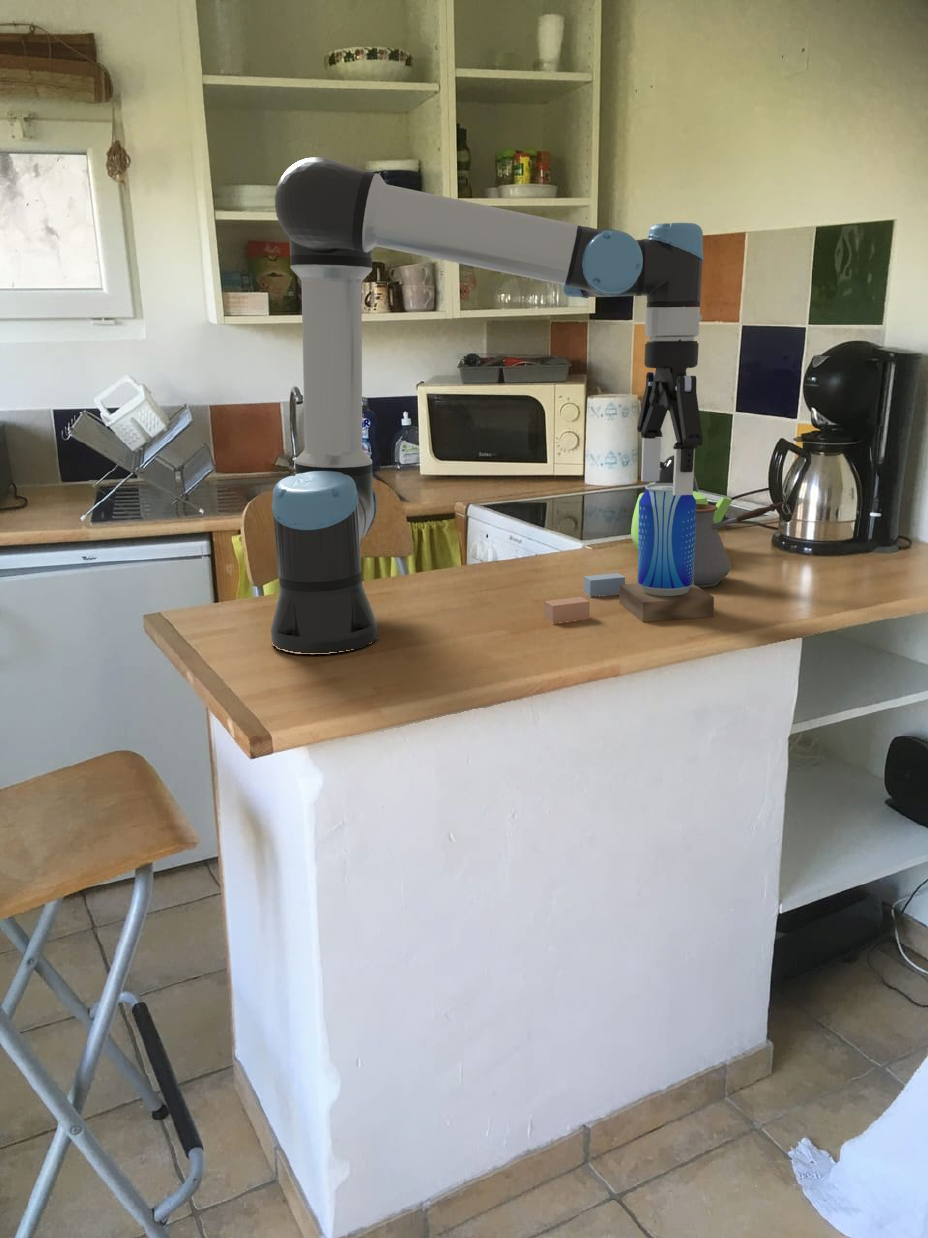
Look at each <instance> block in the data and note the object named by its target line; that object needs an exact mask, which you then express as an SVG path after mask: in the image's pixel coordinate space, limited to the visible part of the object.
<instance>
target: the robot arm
mask: <svg viewBox="0 0 928 1238" xmlns="http://www.w3.org/2000/svg"><path fill="white" fill-rule="evenodd" d="M274 195H275V196H274V208H275V214H276V218H277V220H278V224H279V225H280V227H281V228H282V230H283V232H284V233H285V235H287V236H288V238H289V258H290V259H289V261H290V262H289V263H290V269H291V271H293V272H294V273H295V275H296V276H297V277H298V278H299V280H300V282H301V317H302V319H301V320H302V321H301V323H302V328H301V329H302V364H303V365H302V366H303V367H302V371H303V413H304V418H303V419H304V422H303V424H304V427H303V428H304V449H303V450H302V452H300V454H299V455H298V456H297V457H296V458H295V459H294V475H290V476H289V475H288V476H286V477H284V478H282V479H279V481H278V482H277V483H276V484H275V485H274V488H273V489H272V501H271V512H272V514H273V523H274V524H273V526H274V535H275V536H274V537H275V547H276V557H277V568H278V569H277V571H278V580H279V592H278V593H279V594H278V598H277V602H276V606H275V611H274V614H273V619H272V623H271V627H270V628H271V629H270V634H271V635H270V637H271V643H272V642H273V644H274V645H275V646H277V647H278V648H280V649H285V650H288V651H293V652H301V653H329V652H339V651H346V650H351V649H357V650H359V649H358V648H360V649H362V648H361V647H363V646H365V647H367V646H366V645H368V644H369V643H371V642H373V641H374V640H375V639H376V638H377V639H378V637H377V634H379V633H378V622H377V618H376V616H375V614H374V611H373V609H372V606H371V602H370V601H369V599H368V596H367V594H366V592H365V589H364V585H363V576H362V558H361V540H362V539H363V537H365V535H367V534H368V533H369V531H370V530H371V528H372V526H373V524H374V523H375V518H376V516H377V509H378V503H377V502H378V501H377V497H376V492H375V490H374V486H373V459H372V458H370V456H369V455H368V454H367V453H366V451H364V449H363V339H362V338H363V335H362V334H363V328H362V327H363V324H362V323H363V322H362V321H363V320H362V319H363V318H362V317H363V315H362V314H363V308H362V307H363V305H362V304H363V303H362V300H363V297H362V296H363V295H362V294H363V292H362V289H363V287H362V283H363V281H364V280H365V279H366V278H367V276H369V274H370V273H372V271H373V249H375V248H376V247H379V248H384V249H389V250H391V251H392V250H393V251H397V252H402V253H407V254H413V255H418V256H420V257H421V256H422V257H427V258H432V259H436V260H441V261H445V262H446V261H447V262H451V263H456V264H460V265H465V266H470V267H475V268H479V269H483V270H485V269H486V270H490V271H493V272H494V271H495V272H499V273H503V274H508V275H514V276H519V277H525V278H528V279H532V280H538V281H543V282H548V283H553V284H556V285H561V286H562V291H563V293H564V295H565V296H567V297H571V298H582V299H589V298H606V297H608V298H611V297H612V298H614V297H615V298H616V297H633V296H634V297H641V296H646V308H645V322H644V323H645V324H644V335H645V337H646V338H649V339H648V341H646V343H645V344H644V366H645V367H646V368H648V369H655V371H653V372H651V371H650V372H649V371H648V372H647V373H646V375H645V388H644V391H643V392H644V393H643V398H642V402H641V403H642V404H641V407H640V412H639V417H638V421H637V426H636V430H637V433H640V435H641V438H642V440H641V448H642V449H641V475H640V478H641V480H640V481H641V482H656V481H659V478H660V469H661V468H660V462H661V449H662V447H661V446H662V437H663V436H664V435H663V432H662V428H663V424H664V421H665V418H666V415H667V412H669V416H670V418H671V419H670V420H671V423H672V427H673V428H672V429H673V431H674V435H675V441H676V442H675V443H674V445H673V446H672V448H673V450H674V454H673V455H674V476H673V495H693V479H694V476H695V459H696V458H695V455H696V449H697V448H698V446H703V443H704V440H703V432H702V431H703V430H702V424H701V415H700V409H699V402H698V394H697V377H696V375H687V369H693V368H696V367H697V366H698V361H699V345H700V344H699V343H698V341H697V340H695V337H698V335H699V334H700V322H701V321H702V320H703V315H702V314H701V313H700V312H701V297H702V283H703V281H702V280H703V267H704V266H703V264H704V259H705V258H704V241H703V239H704V237H703V236H704V232H703V229H702V227H701V226H700V225H699V224H698V223H697V224H696V223H692V222H670V223H669V222H668V223H666V222H665V223H656V224H653V225H651V226H650V228H649V231H648V234H647V238H643V239H637V240H636V238H634V237H633V236H632V235H631V234H629V233H628V232H624V231H622V230H620V229H613V228H612V229H609V230H608V229H607V230H605V229H604V230H603V229H599V228H594V227H590V226H583V225H578V224H575V223H571V222H567V221H562V220H557V219H553V218H549V217H544V216H538V215H533V214H529V213H523V212H519V211H514V210H509V209H505V208H501V207H495V206H490V205H487V204H481V203H477V202H472V201H467V200H462V199H457V198H453V197H448V196H442V195H439V194H433V193H429V192H424V191H419V190H416V189H410V188H406V187H400V186H395V185H391V184H388V183H386V182H385V180H384V178H382V176H381V174H379V173H376V172H372V171H368V170H362V169H359V168H355V167H353V166H349V165H345V164H343V163H341V162H338V161H336V160H334V159H330V158H328V157H321V156H320V157H319V156H313V157H307V158H304V159H301V160H297V162H295V163H293V164H291V166H289V167H288V168H287V169H286V170H285V171H284V173H283V175H282V176H281V177H280V179H279V181H278V184H277V186H276V189H275V193H274ZM377 639H376V640H377ZM376 640H375V641H376ZM375 641H374V642H375ZM374 642H373V643H374ZM371 644H372V643H371ZM368 646H369V645H368ZM363 648H364V647H363Z"/></svg>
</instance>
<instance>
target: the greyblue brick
mask: <svg viewBox="0 0 928 1238" xmlns="http://www.w3.org/2000/svg"><path fill="white" fill-rule="evenodd" d="M622 584H626V577H625V576H624V575H622V574H620V573H618V572H617V573H616V572H615V573H608V574H607V573H606V574H605V573H604V574H595V575H594V574H593V575H585V576H583V593H584V592H585V593H587V594H588V595H590V596H599V595H600V596H599V597H603V596H602V595H609V596H617V595H616V594H620V585H622ZM585 593H584V594H585ZM588 595H587V596H588Z"/></svg>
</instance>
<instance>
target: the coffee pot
mask: <svg viewBox="0 0 928 1238" xmlns="http://www.w3.org/2000/svg"><path fill="white" fill-rule="evenodd" d="M785 506H787V508H788V512H786V511H785V509H784V507H785ZM717 509H718V507H717V506H715V505H713V504H709V503H708V504H696V529H695V561H694V585H696V586H697V587H699V588H708V587H714V586H717V585H719V584H720V582H721V581H722V580H724V579H725V578H726V577H727V576H728V575H729V573H730V571H731V569H732V564H731V561H730V559H729V556H728V554H727V552H726V551H727V550H726V549H725V546H724V544H723V542H722V541H723V540H722V538H721V536H720V534H719V531H718V529H720V528H723V527H726V526H728V525H731V524H734V523H737V522H742V521H746V520H749V519H754V518H757V517H760V516H763V515H765V514H766V513H769V512H775V511H776V509H781V510H782V512H783V513H784V515H788V516H789V514H791V513H790V512H791V509H790V505H789V504H788V503H787V502H786V501H780V502H778V503H775V504H773V503H770V505H769V506H763V507H758V508H755V509H752V510H750V511H747V512H745V513H742V514H740V515H737V516H736V517H732V518H729V519H725V520H722V521H721V522H718V523H714V520H713V517H714V514H715V511H716V510H717Z"/></svg>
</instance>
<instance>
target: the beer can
mask: <svg viewBox="0 0 928 1238" xmlns="http://www.w3.org/2000/svg"><path fill="white" fill-rule="evenodd" d="M643 493H644V494H643V495H642V497H641V499H640V500H639V528H638V550H637V552H638V553H637V583H638V584H639V585H640V586H641V587H642V590H643V592H645V593H647V594H651V595H656V596H677V595H682V594H685V593H687V592H688V591H689V589H690V587H691V586H692V585H693V584H694V561H695V529H696V500H695V498H694V496H693V495H673V483H657V484H655V483H652V484H647V485H645V491H644V492H643Z"/></svg>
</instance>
